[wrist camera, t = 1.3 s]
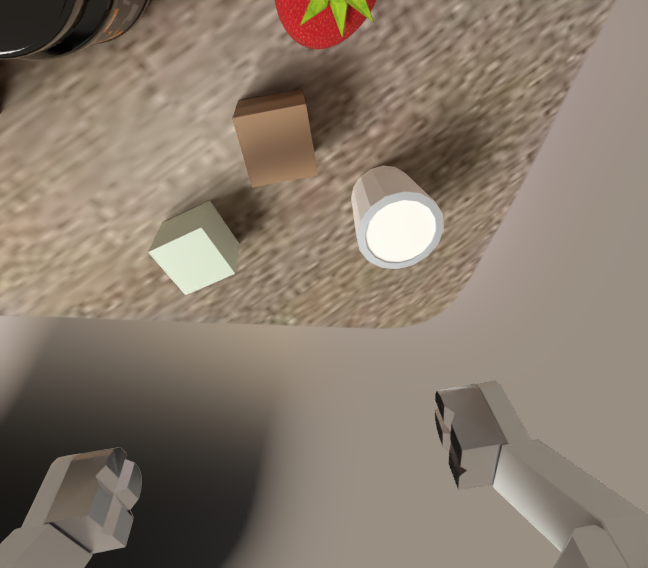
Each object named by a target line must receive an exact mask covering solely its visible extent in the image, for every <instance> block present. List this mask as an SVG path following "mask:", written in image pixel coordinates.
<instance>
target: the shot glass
mask: <svg viewBox="0 0 648 568" xmlns="http://www.w3.org/2000/svg"><path fill="white" fill-rule="evenodd" d="M351 199H352V207H353V214H354V221H355V228H356V235H357V240H358V245H359V249H360V251H361V253H362V254H363V255H364V256H365V258H366V259H367V260H368V261H369V262H371V263H373V264H375V265H377V266H379V267H381V268H392V269H399V268H403V267H407V266H411V265H414V264H415V263H417V262H419V261H420V260H422V259H424V258H425V257H427V256H428V255H429V254H430V253H431V251H432V250H433V249H434V248H435V247H436V246H437V244H438V243H439V240H440V237H441V235H442V232H443V229H444V227H443V214H442V212H441V211H440V209H439V207H438V206H437V204H436V202H435V201H434V200H433V199H432V198H431V197H430V196H429V195H428V194H427V193H426V192H424V191H423V190H422V189H421V188H420V187H419V186H418V185H417V184H416V183H415V182H414V181H413V180H412V179H411V178H410V177H409V176H408V175H407V174H406V173H405V172H403V171H401V170H400V169H398V168H396V167H392V166H384V165H383V166H379V167H376V168H372V169H370V170H369V171H367V172H366V173H364V174H363V175H362V176H360V178H359V179H358V181H357V182H356V184H355V185H354V187H353V192H352V197H351Z"/></svg>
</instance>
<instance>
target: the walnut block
mask: <svg viewBox="0 0 648 568" xmlns="http://www.w3.org/2000/svg"><path fill="white" fill-rule="evenodd" d="M233 122H234V125H235V129H236V132H237V136H238V139H239V143H240V146H241V150H242V153H243V157H244V160H245V164H246V167H247V171H248V174H249V178H250V181H251V185H252V187H257V186H263V185H268V184H273V183H279V182H284V181H289V180H294V179H300V178H305V177H310V176H316V175H318V171H317V165H316V159H315V154H314V148H313V142H312V136H311V130H310V125H309V119H308V113H307V107H306V102H305V98H304V94H303V90H302V89H298V90H293V91H287V92H282V93H277V94H272V95H267V96H262V97H256V98H251V99H246V100H241V101H238V103H237V106H236V109H235V112H234V115H233Z"/></svg>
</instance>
